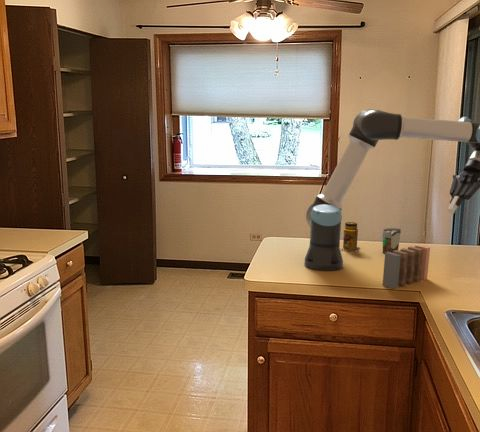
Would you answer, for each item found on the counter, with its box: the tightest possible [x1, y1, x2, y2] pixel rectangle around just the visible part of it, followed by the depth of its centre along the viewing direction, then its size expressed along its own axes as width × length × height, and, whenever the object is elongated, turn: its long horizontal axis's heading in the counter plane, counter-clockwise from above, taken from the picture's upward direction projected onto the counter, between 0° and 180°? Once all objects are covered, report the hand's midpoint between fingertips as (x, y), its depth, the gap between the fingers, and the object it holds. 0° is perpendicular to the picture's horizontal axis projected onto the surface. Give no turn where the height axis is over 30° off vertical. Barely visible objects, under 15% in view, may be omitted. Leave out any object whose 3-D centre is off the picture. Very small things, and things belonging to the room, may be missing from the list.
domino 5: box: [414, 244, 431, 281], centre depth 197 cm, size 2×5×12 cm, turn 39°
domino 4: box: [407, 246, 423, 283], centre depth 195 cm, size 2×5×12 cm, turn 39°
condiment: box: [340, 221, 361, 253], centre depth 236 cm, size 7×8×12 cm
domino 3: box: [399, 247, 416, 285], centre depth 192 cm, size 2×5×12 cm, turn 39°
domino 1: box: [382, 252, 401, 290], centre depth 186 cm, size 2×5×12 cm, turn 39°
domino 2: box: [393, 249, 408, 288], centre depth 189 cm, size 2×5×12 cm, turn 39°
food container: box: [381, 227, 402, 255], centre depth 232 cm, size 12×6×10 cm, turn 144°
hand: (450, 211), depth 204 cm, fingers closed
